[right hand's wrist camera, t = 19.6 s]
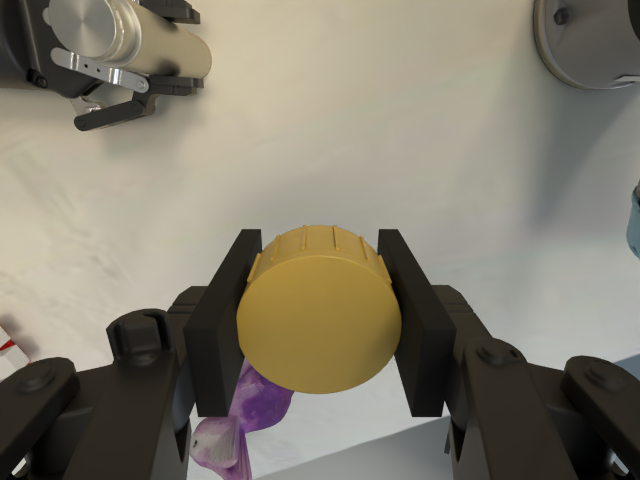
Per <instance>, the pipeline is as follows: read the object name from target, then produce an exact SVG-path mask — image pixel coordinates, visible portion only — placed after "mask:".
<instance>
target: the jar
mask: <svg viewBox="0 0 640 480" xmlns="http://www.w3.org/2000/svg"><path fill="white" fill-rule="evenodd" d="M48 12H49V20H50V24H51V27H52V29H53V31H54V33H55V35H56V37H57V38H58V39H59V41H60V42H61V43H62V44H63V45H64V46H65V47H66V48H67V49H68V50H69V51H71V52H73V53H74V54H76V55H78V56H81V57H85V58H89V59H90V60H92V61H93V62H95V63H96V64H98V65H101V66H103V67H107V68H113V69H119V70H126V71H132V72H139V73H146V74H152V75H159V76H175V77H189V78H199V79H201V78H203V77H205V76H206V75H207V73H208V72H209V70H210V67H211V62H212V58H211V53H210V50H209V48H208V46H207V44H206V43H205V42H204V41H203V40H202V39H201V38H200V37H198V36H196V35H194V34H192V33H190V32H189V31H187V30H185V29H183V28H181V27H179V26H178V25H176V24H174V23H172V22H170V21H168V20H166V19H165V18H163V17H161V16H159V15H157V14H155V13H153V12H152V11H150V10H148V9H146V8H144V7H142V6H140V5H139V4H137V3H135V2H133V1H131V0H50V2H49V9H48Z"/></svg>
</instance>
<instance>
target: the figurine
mask: <svg viewBox="0 0 640 480" xmlns="http://www.w3.org/2000/svg"><path fill="white" fill-rule="evenodd" d="M294 392H295V391H293V390H289V389H286V388H284V387H281V386H279V385H277V384H275V383H273V382H271V381H269V380H268V379H266V378H265V377H263V376H262V375H261V374H260V373H259V372H258V371H256V370H255V369H254V368H253V366H252V365H251V364H250V363H249V362H248V360H247V359H246V357H245V359H244V362H243V366H242V369H241V373H240V376H239V380H238V383H237V386H236V390H235V393H234V397H233V400H232V404H231V407H230V411H229V414H228V417H207V418H206V419H204V420H203V421H201V422H200V423H199V425H198V426H197V428H196V430H195V432H194V433H193V434H192V436H191V442H190V451H189V455H190V456H191V457H192V458H193V460H194V461H195V462H196V463H197V464H199V465H200V466H202V467H205V468H208V469H211V470H213V471H214V472H216V473H217V474H218V475H220V476H221V477H222V478H223V479H224V480H252V474H251V468H250V462H249V456H248V450H247V444H246V438H245V434H246V433H248V432H252V431H257V430H261V429H265V428H268V427H271V426H273V425H275V424H277V423H278V422H280V421H281V420H282V418H283V417H284V416H285V414H286V412H287V410H288V408H289V406H290V402H291V397H292V395H293V393H294Z"/></svg>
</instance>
